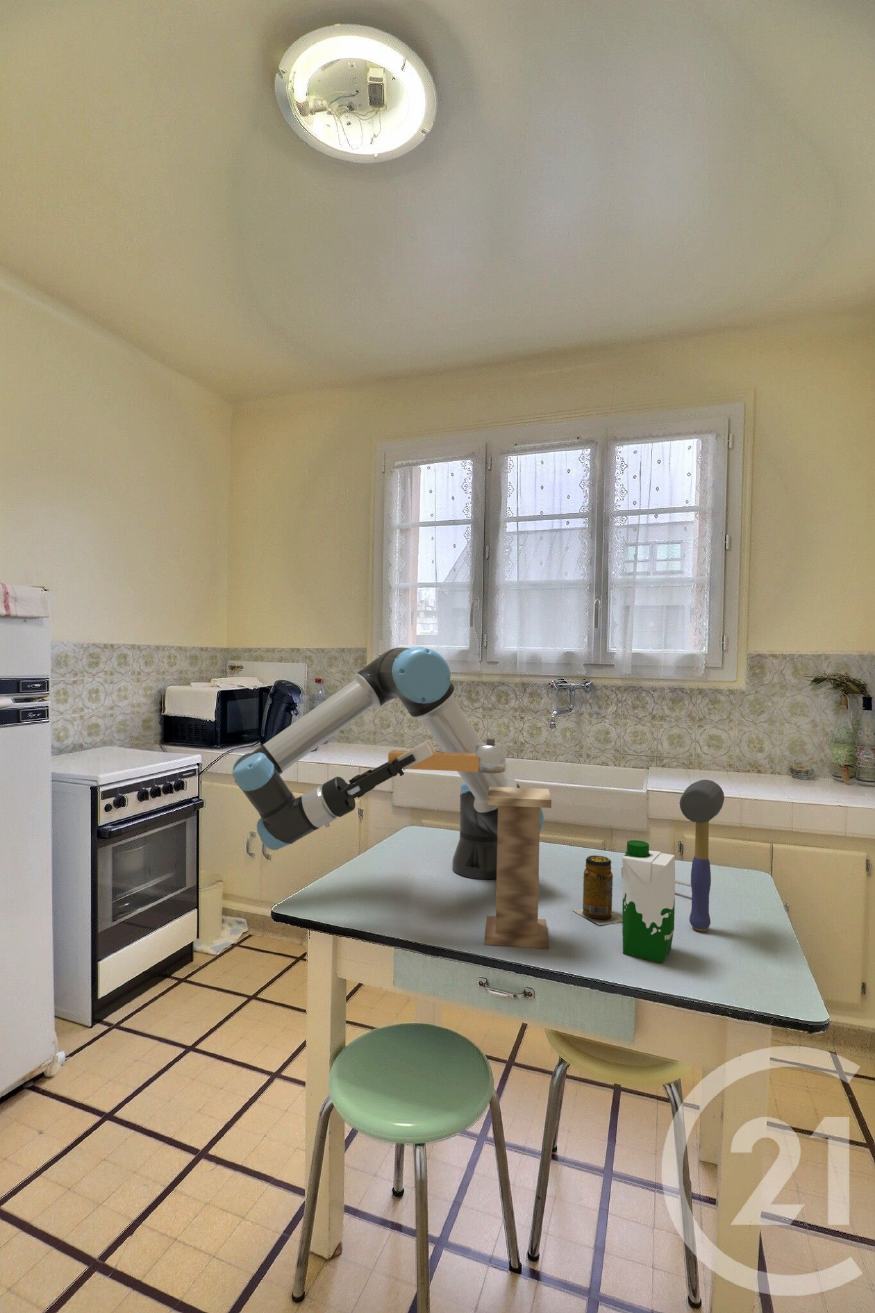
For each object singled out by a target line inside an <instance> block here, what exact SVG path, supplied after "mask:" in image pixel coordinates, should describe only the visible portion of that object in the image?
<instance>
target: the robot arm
mask: <svg viewBox="0 0 875 1313" xmlns="http://www.w3.org/2000/svg"><path fill="white" fill-rule="evenodd" d="M451 676H452V674H451V670H450V666H449V664H448V662H447V661H446V659H445V658H444V657H443V656H442V655H441V654H440V653H438V652H437V651H435V650H433V649H429V648H428V647H423V646H412V647H395V648H391V649H389V650H386V651H385V652H384V653H382V654H380V655H379V656H378V657H377V658H375V659H374V660H372V661H371V662H370V663H368V664H367V665H365V667H362V669H360V670H359V671H358V672H356V673H355V674H354V676H353V679H352V680H353V681H351V682H349V683H348V684H346V686H344V687H342V688H341V689H339V690H338V691H337V692H335V693H334V694H332V695H331V696H330V697H328V698H327V699H326V700H324V701H323V702H321V703H320V704H319V705H317V706H316V707H314V708H313V709H311V710H310V711H308V712H307V713H306V714H304V715H303V716H301V717H300V718H299V719H297V720H296V721H294V722H293V723H291V724H290V725H289V726H288V727H286V728H285V729H283V730H282V731H280V732H279V733H278V734H276V735H275V736H273V737H272V738H270V739H269V740H268V741H266V742H265V743H263V744H262V745H261V746H260V747H258V748H257V749H254V751H252V752H248V753H244V754H242V755H240V756H239V757H238V758H236V760H235V761H234V764H233V766H232V772H231V773H232V777H233V779H234V782H235V784H236V786H238V788H239V789H240V790H241V791H242V793H244V795H245V796H246V798H247V799H248V800H249V802H250V803H251V804H252V806H253V807H254V809H255V810H256V812H257V813H258V814H259V816H260V818H259V819H258V820H257V823H256V831H257V832H256V833H257V834H258V836H259V837H260V841H261V843H262V845H264V846H265V847H266V848H267V849H268V850H270V851H278V850H281V849H283V848H285V847H287V846H290V845H292V844H294V843H296V842H297V841H299V840H300V839H302V838H304V837H306V836H307V835H309V834H311V833H313V832H315V831H316V830H318V829H321V828H322V827H323V826H324V827H325V828H330V826H331V825H330V823H332V822H334V821H335V820H336V819H338V818H342V817H343V816H345V815H347V814H349V813H351V812H353V811H354V810H355V808H356V798H358V799H359V798H361V797H363V796H365V794H367V793H369V792H370V791H372V790H373V789H375V788H376V787H377V786H379V785H381V784H382V783H385V782H386V781H388V780H389V779H391V778H393V777H396V776H398V774H399V776H400V777H402V776H404V775H405V773H404V771H406V770H409V769H408V768H409V767H411V766H413V765H415V764H417V763H419V762H421V761H422V760H424V759H426V758H428V757H430V756H432V755H433V754H432V752H436V749H435V747H434V745H433V743H432V741H431V740H430V739H427V740H426V741H423V742H421V743H420V744H418V745H416V746H414V747H411V749H409V750H408V751H409V752H408V753H406V754H404V755H402V756H400V757H398V758H397V759H398V761H397V760H393V761H392V762H391V763H389V764H388V761H387V762H385V763H383V764H381V765H379V766H377V767H375V768H374V769H368V770H367V771H364V772H363V773H361V774H356V775H355V776H353V777H352V778H350V779H349V780H348V782H349V783H347V782H346V780H345V779H344V778H343V777H341V776H335V777H334V778H332V779H329V780H328V781H326V782H324V783H323V784H322V785H318V786H316V787H314V788H313V789H311V790H309V791H307V792H305V793H303V794H302V795H300V796H299V797H295V795H294V794H293V792H292V791H291V790H290V788H289V787H288V786H287V784H286V783H285V781H284V780H283V778H282V776H281V775H282V773H284V772H285V771H287V770H288V769H289V768H291V767H292V766H294V764H297V762H299V761H300V760H301V759H303V758H304V757H305V756H307V755H309V754H310V753H311V752H312V751H314V750H315V749H317V748H318V747H319V746H321V745H322V744H324V743H325V742H326V741H328V740H329V739H330V738H332V737H333V736H334V735H336V734H337V733H339V732H340V731H342V730H343V729H344V728H346V727H347V726H348V725H350V724H351V723H352V722H354V721H355V720H356V719H358V718H359V717H361V716H362V715H363V714H365V712H367V711H369V710H370V709H371V708H380V707H381V706H383V705H384V704H386V703H388V702H389V701H392V700H394V699H398V700H400V702H401V704H402V705H403V707H405V709H406V710H407V712H408V713H409V715H410V716H411V717H412V718H415V719H420V720H422V722H423V723H424V725H425V726H426V728H427V729H428V731H429V732H430V734H431V735H432V737H433V738H434V740H435V741H436V742H437V744H438V745H439V746H440V749H441V750H442V752H459V753H475V744H478V743H484V742H483V740H482V739H481V737H480V736H479V734H478V733H477V731H476V730H475V728H474V727H473V725H472V724H471V722H470V721H469V719H468V718H467V716H466V715H465V713H464V711H463V710H462V709H461V706H459V704H458V702H457V701H456V699H455V698H454V696H455V692H456V688H455V686H454V684H453V682H452V680H451ZM401 768H402V769H401ZM456 772H457V774H458V775H459V776H460V778H461V779H462V780H463V782H462V783H461V785H460V792H459V798H460V800H459V802H460V803H459V806H460V807H459V838H458V839H459V840H458V843H457V845H456V848H455V851H454V854H453V857H452V864H451V866H452V867H451V868H452V871H453V872H454V873H455V874H457V875H460V876H462V877H464V878H468V879H476V880H494V879H496V880H497V833H498V805H487V797H488V791H489V787H512V788H521V786H520V785H519V784H518V782H517V780H516V779H515V778H513V777H509V776H506V775H505V774H504V772H503V773H481V772H469V771H456ZM544 818H545V817H544V811H543V809H542V808H541V807H540V833H541V832H542V829H543V824H544V821H545V820H544Z"/></svg>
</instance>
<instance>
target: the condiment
mask: <svg viewBox="0 0 875 1313" xmlns="http://www.w3.org/2000/svg"><path fill="white" fill-rule="evenodd" d="M582 878H583V880H582V881H583V886H582V887H583V888H582V908H581V909H578V908H577V909H573V912H575V913H577V914H578V915H579V916H581V917H583V918H585V919H588V920H589V921H591V922H592V923H595V924H597V925H598V926H604V925H605V926H606V925H612V924H616V923H620V922H621V923H622V916H620V915H618V914H617V913H614V912H613V883H614V882H613V880H614V875H613V872H612V860H611V858H609V857H606V856H603V855H594V854H593V855H589V856H587V857H586V858H585V869H584V870H583V876H582Z"/></svg>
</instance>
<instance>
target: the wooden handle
mask: <svg viewBox="0 0 875 1313" xmlns="http://www.w3.org/2000/svg"><path fill="white" fill-rule="evenodd" d="M408 752H409V750H399V749H397V750H396V749H392V750H390V751H389V752H388V754H387V755H388V756H387V758H388V759H387V762H388V764H389V763H391V762H392V761H393V760H397V761H398V759H397V758H398V757H400V756H402V755H404V754H406V753H408ZM432 754H433V755H432V756H430V757H428V758H426V759H424V760H422V761H421V762H419V763H417V764H415V765H413V766H411V767H409V768H408V769H407V770H419V771H420V770H422V771H423V770H424V771H448V772H457V771H469V772H481V773H503V774H504V773H505V772H506V768H507V767H506V766H507V762H506V761H507V759H506V758H507V745H506V744H503V743H500V742H499V743H498V742H497V743H496V738H494V737H493V738H492V737H491V738H489V737H487V738H486V741H485V742H483V743H478V744H475V753H459V752H444V751H435V752H432ZM401 769H402V768H401ZM402 770H403V769H402Z"/></svg>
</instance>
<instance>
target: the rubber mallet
mask: <svg viewBox="0 0 875 1313" xmlns="http://www.w3.org/2000/svg"><path fill="white" fill-rule="evenodd" d="M724 801H725V793H724V791H723V789H722V787H721V786H720V785H719V784H718V783H716V782H715V781H713V780H710V779H700V780H697V781H695V782H693V783H691V784H690V785H689V786H688V787H686V788H685V790H684V791H683V793H682V795H681V797H680V800H679V808H680V811H681V813H682V815H683V816H684V817H685V818H686V819H687V820H689V821H691V822H693V823H695V835H694V837H695V838H694V839H695V840H694V856H693V858H692V863H691V871H690V883H691V910H690V915H689V919H688V920H689V921H688V922H689V923H690V925H691V926H692V929H693V930H695V931H698V932H707V931H708V929H709V928H710V926H711V924H712V923H711V917H710V891H711V886H712V877H711V876H712V875H711V874H712V873H711V872H712V871H711V864H710V859H709V840H710V839H709V835H710V834H709V827H710V826H709V825H710V821H711V820H712V819H714V818H715V817H716V816H718V815H719V813H720V812H721V810H722V809H723V807H724V806H723V805H724Z"/></svg>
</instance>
